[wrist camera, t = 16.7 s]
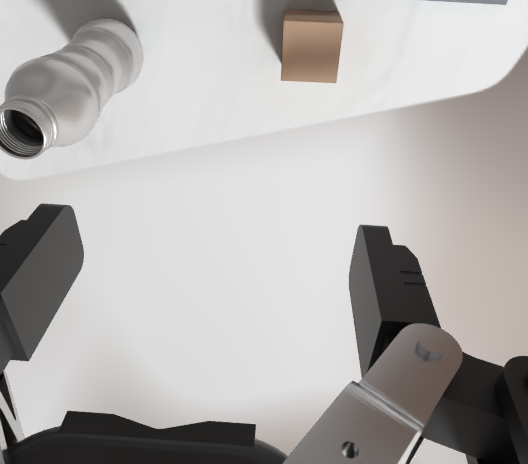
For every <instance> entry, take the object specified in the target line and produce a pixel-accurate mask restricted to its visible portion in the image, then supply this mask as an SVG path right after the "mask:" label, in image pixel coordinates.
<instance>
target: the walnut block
mask: <svg viewBox="0 0 528 464" xmlns="http://www.w3.org/2000/svg"><path fill="white" fill-rule="evenodd" d="M342 32H343V21H342V19H341V16H340V14H339V12H334V11H311V10H287V9H285V12H284V28H283V48H282V68H281V81H302V82H324V83H336V80H337V72H338V64H339V56H340V48H341V40H342Z"/></svg>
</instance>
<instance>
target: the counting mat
mask: <svg viewBox="0 0 528 464" xmlns="http://www.w3.org/2000/svg"><path fill="white" fill-rule="evenodd" d="M429 1H447V2H465V3H483V4H501V5H506V3H507V0H429Z"/></svg>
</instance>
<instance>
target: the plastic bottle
mask: <svg viewBox="0 0 528 464" xmlns="http://www.w3.org/2000/svg"><path fill="white" fill-rule="evenodd" d="M142 64H143V50H142V46H141V43H140V41H139V39H138V37H137V36H136V34H135V33H134V32H133V31H132V30H131V29H130V28H129V27H128V26H127V25H125V24H124V23H122V22H120V21H117V20H114V19H108V18H106V19H96V20H92V21H89V22H87V23H86V24H84V25H83V26H82V27H81V28H80V29H79V30H78V31H77V32H76V33H75V34H74V36H73V38H72V39H71V41H70V42H69V43H68V44H67V45H66V46H65V47H64V48H62V49H60V50H58V51H56V52H54V53H52V54H49V55H45V56H42V57H38V58H35V59H32V60H30V61H27V62H25V63H23V64H22V65H20V66H19V67H18V68H17V69H16V70H15V71H14V72H13V73H12V75H11V77H10V79H9V81H8V83H7V85H6V89H5V102H4V103H3V104H2V105H1V107H0V149H1V150H2V151H4V152H5V153H7V154H8V155H10V156H12V157H15V158H18V159H32V158H35V157H37V156H39V155H40V154H41V153H43V152H44V151H45V150H46V149H48V148H49V147H63V146H67V145H71V144H74V143H76V142H78V141H80V140H82V139H83V138H85V137H86V136H87V135H88V134H89V133H90V131H91V130H92V128H93V127H94V125H95V124H96V121H97V119H98V117H99V115H100V113H101V111H102V109H103V107H104V106H105V104H106V103H107V102H108V100H109V99H110V98H111V97H112V96H114V95H115V94H116V93H118V92H121V91H122V90H124V89H126V88H128V87H129V86H130V85H132V84H133V83H134V82H135V80H136V79H137V78H138V76H139V73H140V71H141V68H142Z"/></svg>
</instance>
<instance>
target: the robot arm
mask: <svg viewBox="0 0 528 464" xmlns="http://www.w3.org/2000/svg"><path fill="white" fill-rule="evenodd" d="M83 258H84V251H83V245H82V241H81V237H80V233H79V229H78V225H77V221H76V217H75V214H74V210H73V209H72V207H71V206H69V205H55V204H40V205H39V206H38V207H37V208H36V210H35V211H34V212H33V213H32V214H31V215H30V217H29V218H28V219H27V220H21V221H19V222H18V223H16V224H14V225H13V226H11V227H9V228H8V229H6V230H5V231H4V232H3V233H2V234H1V235H0V464H411V462H412V461H413V459H414V458H415V456H416V454H417V452H418V451H419V449H420V447H421V445H422V444H423V442H424V440H425V439H428V440H431V441H434V442H436V443H439V444H441V445H444V446H447V447H449V448H452V449H454V450H457V451H459V452H462V453H465V454H466V458H467V462H468V464H528V356H518V357H514V358H512V359H510V360H509V361H508V362H507V363H506V365H505V366H504V367H502V366H499V365H496V364H493V363H489V362H486V361H483V360H480V359H477V358H475V357H472V356H470V355H468V354H466V353H464V352H462V350H461V347H460V345H459V344H458V342H457V341H456V340H455V339H454V338H453V337H452V336H451V335H450V334H449V333H447V332H445V331H444V330H443V329H441V327H440V324H439V321H438V318H437V315H436V312H435V309H434V306H433V303H432V300H431V298H430V295H429V292H428V289H427V287H426V283H425V280H424V277H423V275H422V271H421V268H420V265H419V262H418V259H417V258H416V257H415V256H414V254H413V253H412V252H411V251H410V250H409V249H408V248H407V247H406V246H401V245H393V243H392V240H391V237H390V233H389V229H388V227H386V226H372V225H360V226H359V227H358V231H357V236H356V241H355V246H354V250H353V255H352V260H351V265H350V272H349V290H350V297H351V304H352V311H353V318H354V325H355V332H356V339H357V346H358V353H359V360H360V368H361V374H362V380H361V381H360V382H359V383H356V382H354V381H352V382H351V383H349V384H348V385H347V386H346V387H345V388H344V390H343V391H342V392H341V393H340V394H339V396H338V397H337V398H336V399H335V400H334V402H333V403H332V404H331V405H330V406H329V408H328V409H327V410H326V411H325V412H324V414H323V415H322V416H321V418H320V419H319V420H318V421H317V422H316V423H315V425H314V426H313V427H312V428H311V429H310V431H309V432H308V433H307V434H306V436H305V437H304V438H303V439H302V441H301V442H300V443H299V444H298V445H297V447H296V448H295V449H294V450H293V451H292V452H291V454H290V455H289V456H287V455H286V454H284V453H283V452H281V451H280V450H278V449H277V448H275V447H273V446H271V445H269V444H267V443H265V442H263V441H260V440H257V439H255V429H256V425H255V424H242V423H230V422H215V421H207V422H201V423H195V424H189V425H183V426H177V427H172V428H165V429H155V428H152V427H149V426H146V425H143V424H140V423H138V422H134V421H132V420H129V419H126V418H123V417H120V416H117V415H114V414H105V413H91V412H77V411H67V413H66V415H65V418H64V420H63V422H62V425H61V426H59V427H54V428H51V429H47V430H44V431H41V432H39V433H36V434H34V435H31V436H29V437H27V438H25V437H24V434H23V431H22V428H21V424H20V421H19V417H18V413H17V410H16V406H15V403H14V399H13V395H12V392H11V388H10V385H9V381H8V377H7V374H6V372H5V370H4V369H5V367H6V366H7V364H8V362H9V361H10V360H20V361H29V360H30V358H31V356H32V354H33V353H34V351H35V349H36V347H37V346H38V344H39V342H40V340H41V338H42V337H43V335H44V333H45V332H46V330H47V328H48V326H49V325H50V323H51V321H52V319H53V317H54V316H55V314H56V312H57V311H58V309H59V307H60V305H61V303H62V302H63V300H64V298H65V297H66V295H67V293H68V291H69V290H70V288H71V286H72V284H73V282H74V281H75V279H76V277H77V275H78V274H79V272H80V270H81V268H82V264H83Z"/></svg>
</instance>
